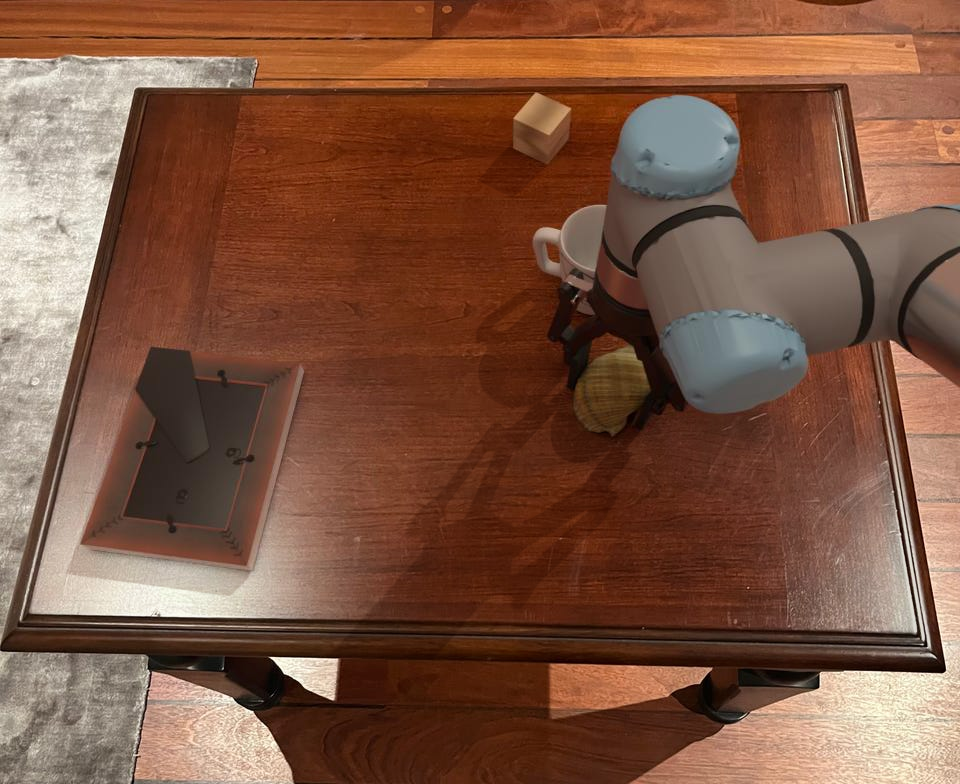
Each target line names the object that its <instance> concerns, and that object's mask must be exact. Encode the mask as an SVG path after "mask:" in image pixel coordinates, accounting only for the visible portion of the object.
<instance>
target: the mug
mask: <svg viewBox="0 0 960 784" xmlns="http://www.w3.org/2000/svg"><path fill="white" fill-rule="evenodd" d="M606 205H607V204H594V205H588V206H585V207H582V208H580V209H578V210H575V212H573V213H572V214H571V215H569V216H568V217H567V219H566V220H565V221H564V223H563V225H562V227H561V229H559V228H558V229H557V228H554V227H548V226H545V227H540V228H538V229H537V230H536V232H535V233H534V235H533V238H532V249H533V251H534V254H535V259H536V264H537V266H538V268H539V269H540V270H541V271H542V272H544V273H546V274H548V275H551V276H554V277H559V278H561V283H562V282H563V281H564V279H565V278H566V277H567V275H568V274H569V273H570V271H571V270H572V269H573V268H575V269H578V270H580V271H581V272H582V273H583V277H584V281H587V282H590V283H592V284H593V281H594V275H595V269H596V262H597V256H598V251H599V246H600V241H601V236H602V230H603V225H604V219H605V212H606ZM546 243H549V244H551V245H553V246H556V247H557V248H558V250H559V263H558V262H555V261H552V260H551V259H550V258H549V256H548V249H547V244H546ZM576 311H577V312H579V313H582V314H584V315H589V316H593V315H595V313H594V311H593V310H592V308H591V306H590V305H589V303H588V301H587V298H584V299H583V300H582V301H581V302H580V303H579V305H578V307H577V310H576Z"/></svg>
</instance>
